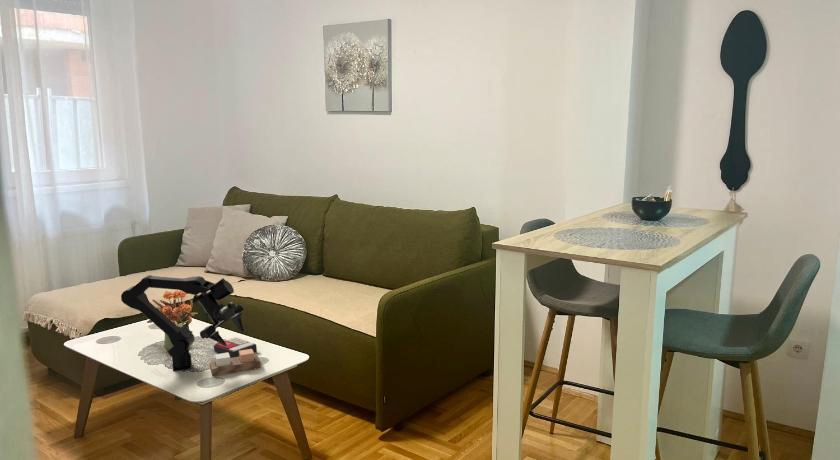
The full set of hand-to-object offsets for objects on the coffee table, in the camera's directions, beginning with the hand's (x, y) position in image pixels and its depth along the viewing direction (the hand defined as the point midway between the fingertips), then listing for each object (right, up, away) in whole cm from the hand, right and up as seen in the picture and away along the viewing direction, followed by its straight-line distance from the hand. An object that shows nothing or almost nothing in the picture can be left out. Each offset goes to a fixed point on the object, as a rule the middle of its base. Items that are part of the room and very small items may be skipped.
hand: (234, 338), depth 241 cm
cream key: (-4, -10, -2) cm, 11 cm away
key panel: (0, -12, 0) cm, 12 cm away
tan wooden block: (+4, -9, +2) cm, 10 cm away
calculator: (-5, -9, +17) cm, 20 cm away
